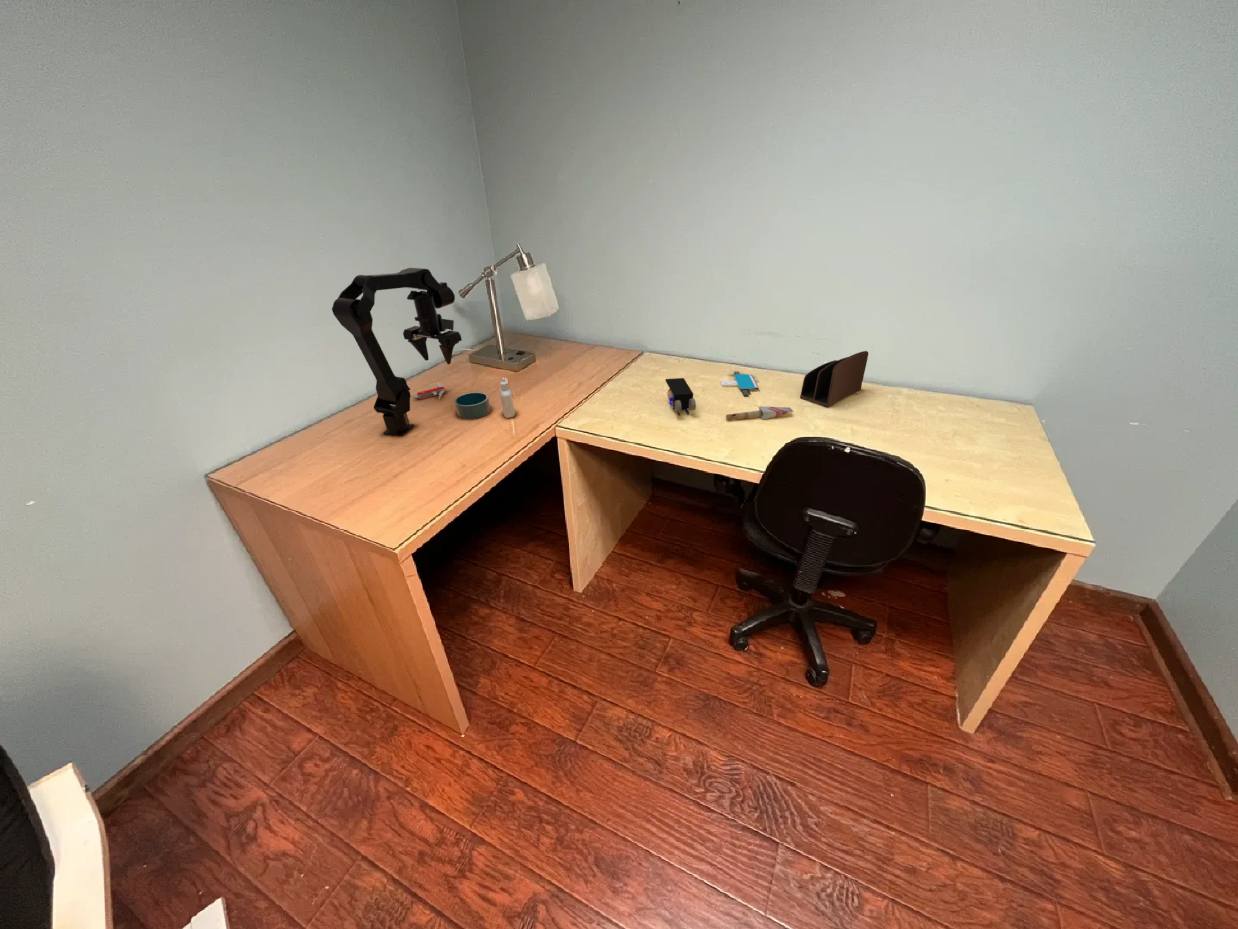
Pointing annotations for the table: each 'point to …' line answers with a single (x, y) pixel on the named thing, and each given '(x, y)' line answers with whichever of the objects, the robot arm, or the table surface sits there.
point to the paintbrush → (761, 413)
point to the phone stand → (742, 383)
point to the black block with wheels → (680, 395)
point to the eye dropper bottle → (506, 399)
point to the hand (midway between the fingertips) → (438, 362)
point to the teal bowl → (472, 405)
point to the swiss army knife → (431, 392)
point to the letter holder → (835, 380)
